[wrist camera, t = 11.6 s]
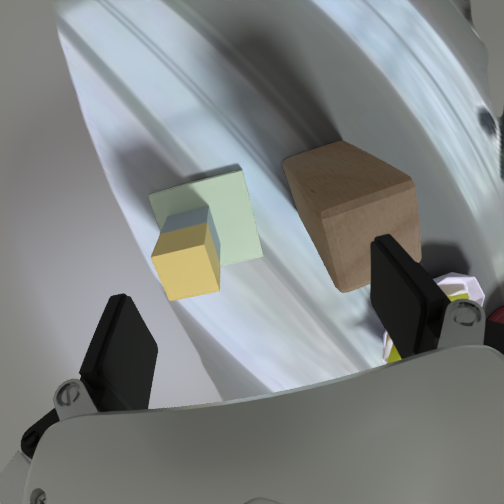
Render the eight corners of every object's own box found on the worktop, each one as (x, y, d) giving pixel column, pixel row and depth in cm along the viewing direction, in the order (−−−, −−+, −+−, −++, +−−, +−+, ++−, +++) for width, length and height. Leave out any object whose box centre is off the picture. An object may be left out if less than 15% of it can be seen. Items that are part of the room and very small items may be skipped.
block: (279, 158, 43) (316, 211, 25) (343, 137, 42) (417, 176, 24) (299, 219, 47) (339, 299, 30) (358, 198, 46) (425, 265, 29)
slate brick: (167, 216, 45) (159, 234, 39) (209, 205, 44) (206, 222, 39) (180, 253, 48) (175, 274, 42) (220, 243, 47) (219, 264, 42)
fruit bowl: (477, 245, 53) (509, 274, 43) (457, 334, 66) (478, 363, 56) (363, 281, 54) (388, 322, 45) (363, 369, 68) (378, 406, 58)
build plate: (149, 194, 44) (147, 196, 43) (242, 169, 43) (242, 170, 42) (179, 272, 50) (178, 275, 50) (262, 253, 50) (263, 256, 49)
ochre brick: (160, 234, 39) (150, 257, 34) (207, 222, 39) (204, 244, 34) (176, 274, 42) (169, 301, 37) (220, 264, 42) (219, 291, 37)
